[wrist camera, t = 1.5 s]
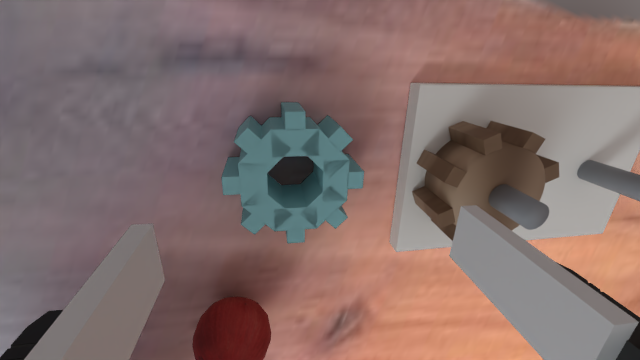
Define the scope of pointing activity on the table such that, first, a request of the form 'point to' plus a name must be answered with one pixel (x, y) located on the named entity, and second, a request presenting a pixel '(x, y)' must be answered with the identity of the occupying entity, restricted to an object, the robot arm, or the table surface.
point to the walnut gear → (481, 171)
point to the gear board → (560, 145)
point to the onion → (232, 331)
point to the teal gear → (298, 199)
